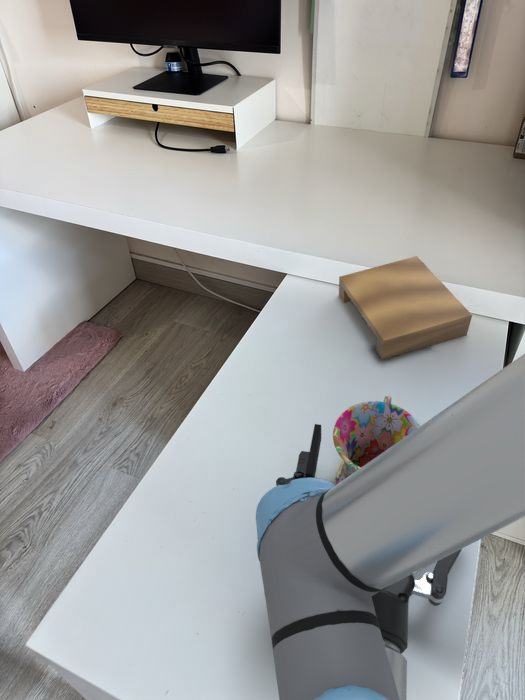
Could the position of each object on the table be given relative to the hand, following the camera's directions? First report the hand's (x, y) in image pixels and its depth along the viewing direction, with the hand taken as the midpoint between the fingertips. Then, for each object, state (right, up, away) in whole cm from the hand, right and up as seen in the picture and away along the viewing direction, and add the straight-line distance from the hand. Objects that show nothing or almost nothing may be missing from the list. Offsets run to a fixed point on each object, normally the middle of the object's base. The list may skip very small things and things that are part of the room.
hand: (377, 438), depth 57 cm
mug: (0, -5, +4) cm, 7 cm away
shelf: (+9, +16, +23) cm, 29 cm away
